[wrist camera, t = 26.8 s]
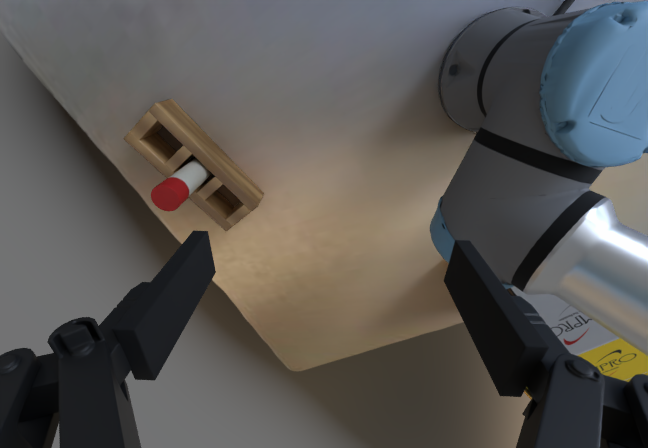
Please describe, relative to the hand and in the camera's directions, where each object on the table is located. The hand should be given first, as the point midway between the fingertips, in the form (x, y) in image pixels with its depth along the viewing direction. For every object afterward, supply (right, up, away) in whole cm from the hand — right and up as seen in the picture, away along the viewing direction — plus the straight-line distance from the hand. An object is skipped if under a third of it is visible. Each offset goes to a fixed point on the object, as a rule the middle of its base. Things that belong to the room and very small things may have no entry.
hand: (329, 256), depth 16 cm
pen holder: (-20, +12, +33) cm, 40 cm away
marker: (-20, +12, +33) cm, 40 cm away
